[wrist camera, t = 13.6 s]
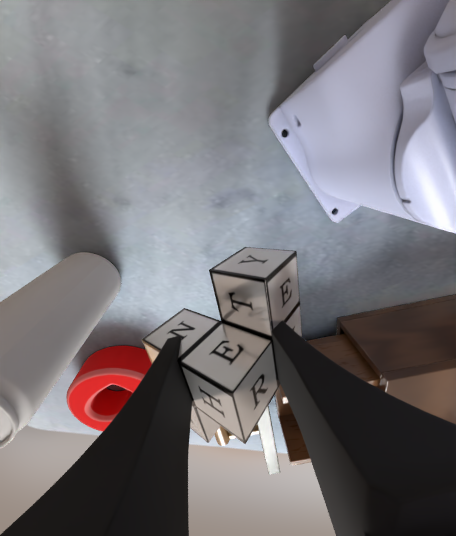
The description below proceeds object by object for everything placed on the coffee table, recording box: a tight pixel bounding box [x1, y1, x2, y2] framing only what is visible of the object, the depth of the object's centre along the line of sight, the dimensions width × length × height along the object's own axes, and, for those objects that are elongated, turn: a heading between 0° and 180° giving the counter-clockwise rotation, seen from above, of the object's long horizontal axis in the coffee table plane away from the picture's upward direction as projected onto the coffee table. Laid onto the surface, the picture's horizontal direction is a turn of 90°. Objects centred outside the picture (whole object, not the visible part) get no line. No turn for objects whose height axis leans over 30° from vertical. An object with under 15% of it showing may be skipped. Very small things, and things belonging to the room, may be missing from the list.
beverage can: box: [0, 252, 121, 448], centre depth 14 cm, size 5×5×12 cm
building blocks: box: [141, 247, 302, 444], centre depth 11 cm, size 5×5×8 cm
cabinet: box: [337, 294, 456, 424], centre depth 23 cm, size 12×13×7 cm
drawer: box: [214, 333, 381, 475], centre depth 23 cm, size 16×12×6 cm
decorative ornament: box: [67, 346, 152, 431], centre depth 24 cm, size 10×10×3 cm
